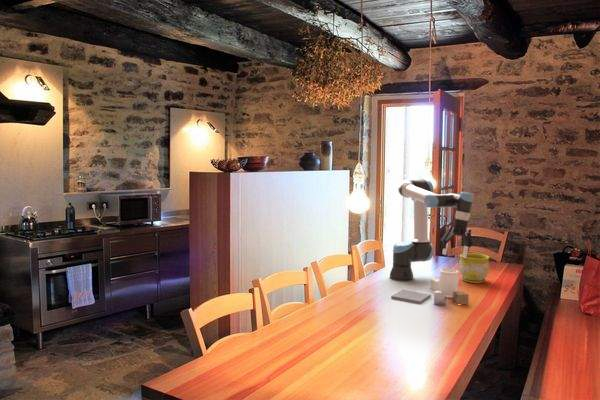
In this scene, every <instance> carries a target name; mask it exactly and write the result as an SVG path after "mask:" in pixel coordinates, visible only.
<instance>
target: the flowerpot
mask: <svg viewBox="0 0 600 400" xmlns="http://www.w3.org/2000/svg"><path fill="white" fill-rule="evenodd" d="M462 255H463V253H461V254H459V257H460V258H459V260H460V261H459V274H460V275H461V276H462V277H461V279H462V281H464V282H466V283H469V282H470V283H471V284H482V283H481V282H483V283H484V282H485V281H486V278H487V276H488V275H489V271H490V269H489V268H490V265H489V262H490V256H489V255H487V254H484V253H483V254H482V253H475V252H467V256H466V258H464V257H462ZM470 283H469V284H470Z"/></svg>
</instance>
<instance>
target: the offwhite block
mask: <svg viewBox="0 0 600 400" xmlns="http://www.w3.org/2000/svg"><path fill="white" fill-rule="evenodd" d="M429 288H430V289H431V290H432V291H433V292H435V291H436V290H440V284H439V278H430V287H429Z"/></svg>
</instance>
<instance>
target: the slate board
mask: <svg viewBox="0 0 600 400" xmlns="http://www.w3.org/2000/svg"><path fill="white" fill-rule="evenodd" d="M431 296H432V295H431V294H430V293H425V292H424V293H423V292H419V291H418V292H417V291H413V290H407V289H401V290H400V291H398V292H396V293H394V294H393V295H391V296H390V298H391V299H392V300H397V301H403V302H408V303H414V304H419V305H420V304H423V303H424V302H425V301H427V300H428V299H429V298H431Z"/></svg>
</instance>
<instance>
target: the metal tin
mask: <svg viewBox="0 0 600 400" xmlns="http://www.w3.org/2000/svg"><path fill="white" fill-rule="evenodd" d="M433 292H434V293H433V294H434V295H433V296H434V297H433V298H434V299H433V304H434V305H435V306H438V307H445V306H446V300H447V298H446V292H445V291H441V290H436V291H433Z"/></svg>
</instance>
